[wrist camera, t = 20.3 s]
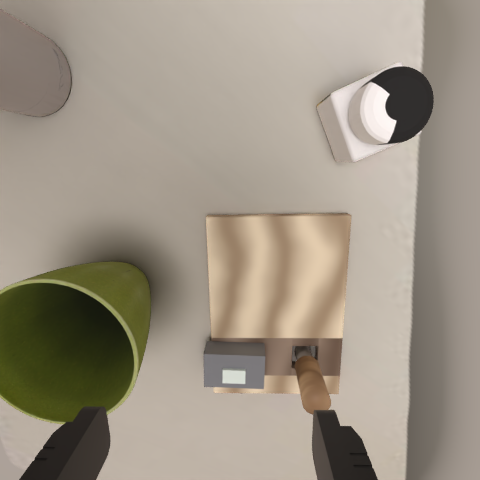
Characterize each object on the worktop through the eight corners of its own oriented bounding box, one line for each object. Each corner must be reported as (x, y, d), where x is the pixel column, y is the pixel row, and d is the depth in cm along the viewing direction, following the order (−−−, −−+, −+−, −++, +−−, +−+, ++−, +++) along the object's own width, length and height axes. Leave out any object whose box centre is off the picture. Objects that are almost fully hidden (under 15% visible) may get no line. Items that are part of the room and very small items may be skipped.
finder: (207, 372, 45) (203, 388, 41) (206, 341, 43) (203, 355, 40) (263, 374, 44) (264, 391, 41) (264, 343, 43) (265, 358, 40)
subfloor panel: (214, 385, 47) (213, 392, 45) (207, 215, 40) (205, 217, 39) (335, 386, 46) (338, 393, 45) (347, 213, 40) (351, 215, 38)
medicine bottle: (373, 78, 36) (432, 39, 24) (392, 138, 37) (455, 127, 26) (314, 105, 37) (344, 80, 25) (335, 162, 38) (372, 163, 27)
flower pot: (175, 235, 41) (130, 280, 26) (180, 335, 45) (143, 427, 29) (65, 234, 42) (-45, 278, 26) (79, 333, 45) (-10, 422, 30)
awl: (291, 360, 45) (302, 414, 36) (291, 340, 45) (303, 390, 35) (313, 360, 45) (330, 414, 36) (314, 340, 44) (331, 391, 35)
